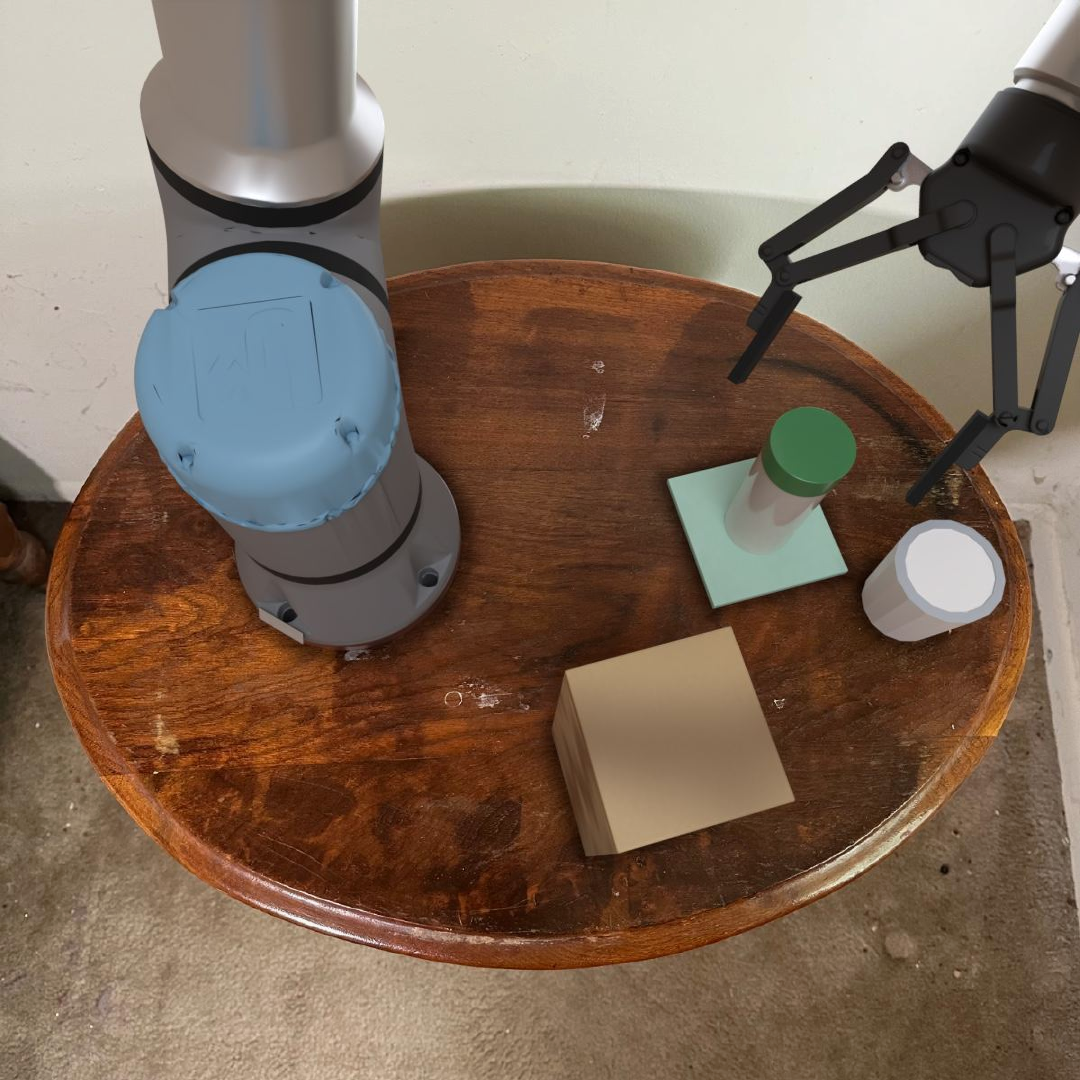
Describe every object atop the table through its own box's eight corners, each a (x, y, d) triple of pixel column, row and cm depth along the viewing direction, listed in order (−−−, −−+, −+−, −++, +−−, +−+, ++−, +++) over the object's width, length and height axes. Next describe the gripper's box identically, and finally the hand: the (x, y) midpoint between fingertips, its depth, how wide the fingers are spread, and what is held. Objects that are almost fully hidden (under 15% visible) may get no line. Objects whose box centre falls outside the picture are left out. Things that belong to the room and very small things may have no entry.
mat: (666, 482, 60) (667, 478, 60) (792, 451, 62) (795, 447, 61) (712, 609, 57) (714, 606, 56) (845, 573, 58) (848, 570, 58)
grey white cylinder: (950, 659, 56) (1007, 633, 50) (849, 639, 56) (892, 610, 50) (952, 566, 58) (1006, 529, 52) (855, 547, 59) (897, 508, 52)
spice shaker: (713, 500, 59) (757, 417, 48) (777, 484, 60) (836, 398, 49) (737, 564, 58) (789, 492, 46) (803, 546, 58) (870, 471, 47)
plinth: (551, 729, 54) (564, 670, 37) (666, 697, 55) (731, 625, 38) (585, 856, 51) (617, 853, 34) (707, 820, 52) (796, 800, 35)
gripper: (1266, 242, 45) (988, 538, 54) (873, 28, 50) (684, 332, 60) (1318, 231, 38) (991, 570, 48) (861, -13, 44) (650, 335, 53)
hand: (820, 438), depth 54 cm, fingers open, 13 cm apart
